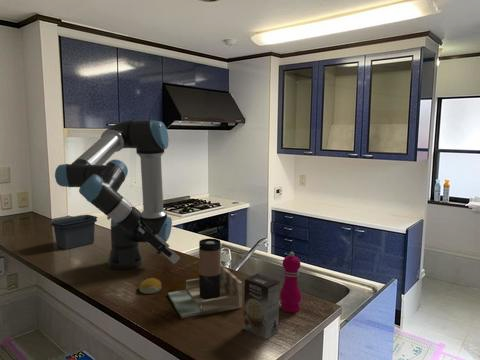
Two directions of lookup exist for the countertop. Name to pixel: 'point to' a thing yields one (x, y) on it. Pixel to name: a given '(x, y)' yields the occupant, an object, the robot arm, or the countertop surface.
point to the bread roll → (150, 286)
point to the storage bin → (74, 231)
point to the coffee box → (261, 305)
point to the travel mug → (209, 268)
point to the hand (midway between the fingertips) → (171, 254)
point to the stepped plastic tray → (194, 305)
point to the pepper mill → (290, 284)
